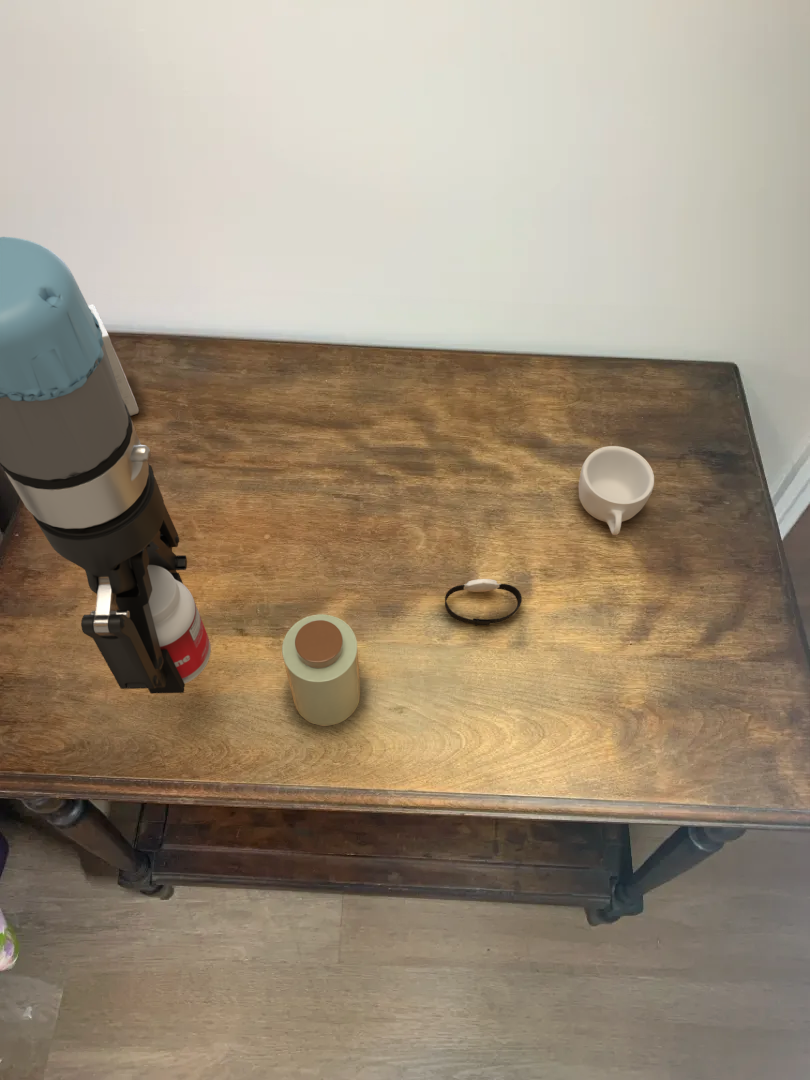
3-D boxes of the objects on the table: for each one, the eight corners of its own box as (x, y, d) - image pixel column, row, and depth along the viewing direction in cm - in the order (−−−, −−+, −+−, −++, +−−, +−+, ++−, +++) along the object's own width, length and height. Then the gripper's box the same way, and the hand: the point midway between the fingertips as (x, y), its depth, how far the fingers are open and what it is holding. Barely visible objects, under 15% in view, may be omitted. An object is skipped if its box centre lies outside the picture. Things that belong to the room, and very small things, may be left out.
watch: (516, 587, 84) (520, 569, 81) (521, 628, 82) (526, 610, 79) (442, 590, 84) (444, 571, 81) (445, 630, 81) (447, 613, 78)
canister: (291, 726, 75) (278, 676, 66) (294, 663, 79) (282, 607, 70) (360, 725, 76) (356, 675, 66) (360, 662, 79) (357, 606, 70)
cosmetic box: (141, 413, 97) (112, 335, 87) (104, 425, 96) (70, 348, 85) (126, 379, 100) (96, 300, 90) (90, 391, 99) (56, 313, 88)
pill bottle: (131, 686, 68) (91, 624, 59) (148, 621, 71) (113, 553, 62) (205, 691, 68) (176, 629, 59) (218, 626, 71) (193, 558, 62)
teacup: (572, 473, 93) (581, 443, 88) (639, 479, 93) (652, 449, 88) (573, 546, 87) (583, 517, 83) (645, 552, 87) (659, 524, 82)
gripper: (125, 621, 44) (205, 760, 64) (172, 372, 55) (228, 556, 74) (-13, 623, 44) (108, 762, 63) (60, 373, 55) (146, 557, 74)
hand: (173, 651), depth 69 cm, fingers closed on pill bottle, 6 cm apart
